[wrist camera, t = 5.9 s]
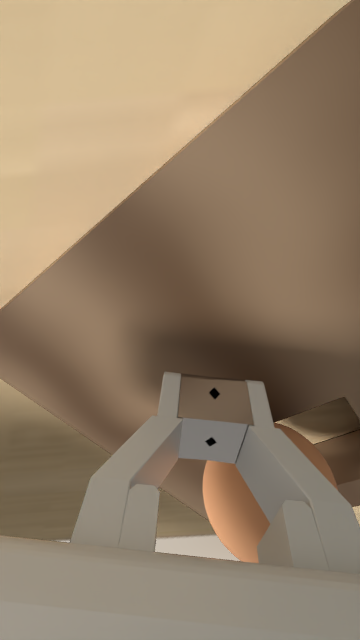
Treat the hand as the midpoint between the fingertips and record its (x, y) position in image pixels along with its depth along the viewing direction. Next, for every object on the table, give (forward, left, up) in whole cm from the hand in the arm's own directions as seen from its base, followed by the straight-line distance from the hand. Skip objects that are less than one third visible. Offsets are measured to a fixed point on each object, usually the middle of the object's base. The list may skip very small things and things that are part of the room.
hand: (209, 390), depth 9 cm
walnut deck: (0, -4, -5) cm, 6 cm away
